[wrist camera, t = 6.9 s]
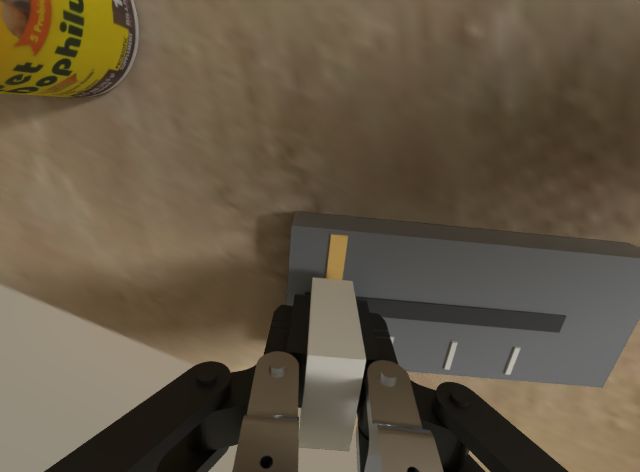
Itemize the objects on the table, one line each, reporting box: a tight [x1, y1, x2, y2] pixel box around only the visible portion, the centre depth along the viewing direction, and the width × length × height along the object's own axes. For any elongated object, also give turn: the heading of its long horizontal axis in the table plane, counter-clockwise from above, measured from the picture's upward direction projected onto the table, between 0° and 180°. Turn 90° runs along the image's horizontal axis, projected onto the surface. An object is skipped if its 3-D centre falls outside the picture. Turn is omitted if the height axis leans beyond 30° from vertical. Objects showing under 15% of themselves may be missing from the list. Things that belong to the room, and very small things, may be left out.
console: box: [286, 211, 640, 388], centre depth 16 cm, size 7×16×2 cm, turn 85°
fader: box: [298, 277, 366, 451], centre depth 12 cm, size 4×2×5 cm, turn 174°
